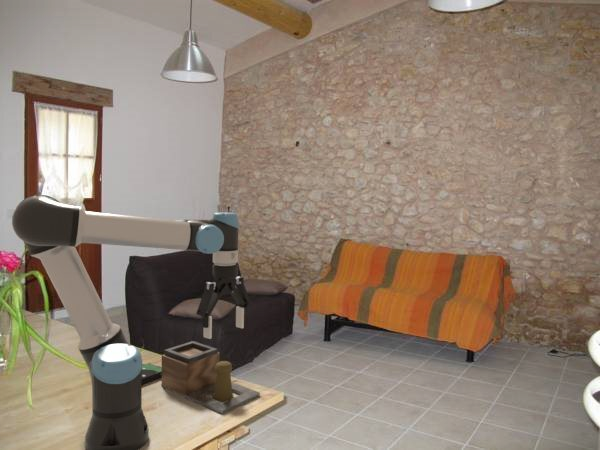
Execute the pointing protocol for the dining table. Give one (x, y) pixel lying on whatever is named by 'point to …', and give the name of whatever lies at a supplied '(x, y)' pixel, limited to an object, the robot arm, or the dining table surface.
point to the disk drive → (150, 373)
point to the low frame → (222, 408)
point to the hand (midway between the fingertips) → (224, 332)
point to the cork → (223, 381)
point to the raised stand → (189, 367)
